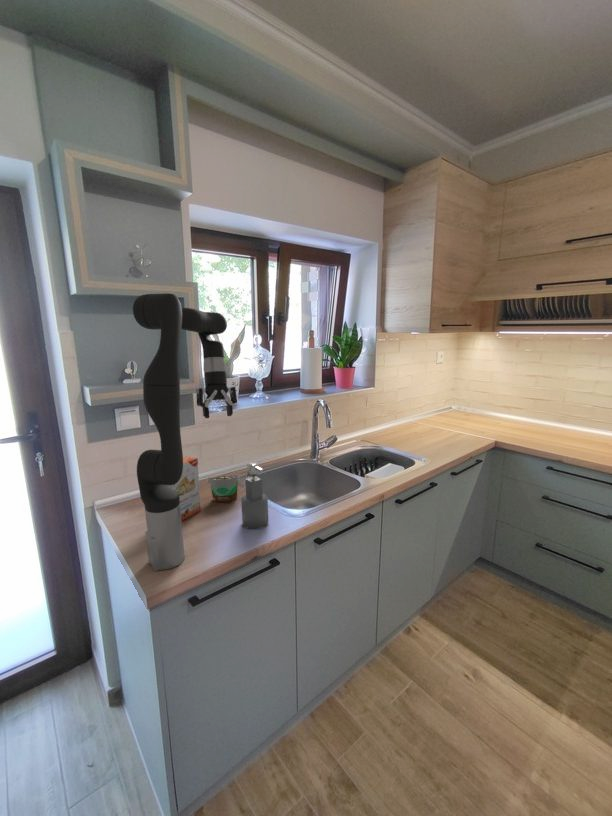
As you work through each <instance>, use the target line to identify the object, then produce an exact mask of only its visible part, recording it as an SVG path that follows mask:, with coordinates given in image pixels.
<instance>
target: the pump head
mask: <svg viewBox="0 0 612 816" xmlns="http://www.w3.org/2000/svg"><path fill="white" fill-rule="evenodd" d="M246 471H247V472H246V474H247V476H248V477H250V478H251V477H252V480H255V476H256V477H258V476H259V475H260V473H263V472H264V468H262V467H260V464H259V463H258V462H249V463H247V464H246Z"/></svg>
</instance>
